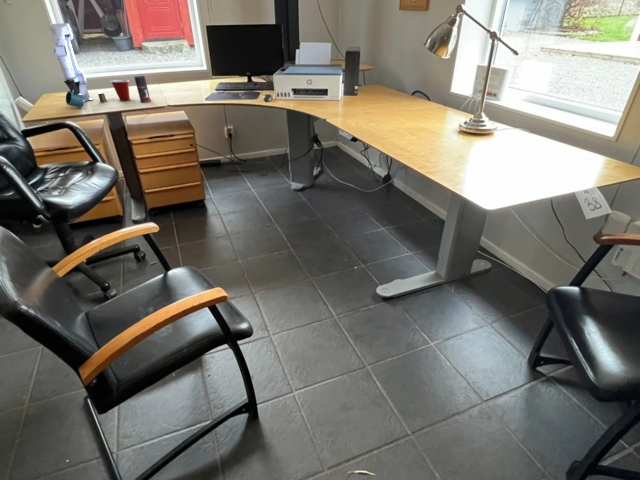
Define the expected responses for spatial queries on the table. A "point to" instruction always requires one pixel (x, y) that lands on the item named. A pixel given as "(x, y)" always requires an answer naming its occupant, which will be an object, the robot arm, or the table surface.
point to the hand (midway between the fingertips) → (75, 93)
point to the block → (101, 96)
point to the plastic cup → (121, 89)
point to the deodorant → (142, 89)
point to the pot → (74, 99)
